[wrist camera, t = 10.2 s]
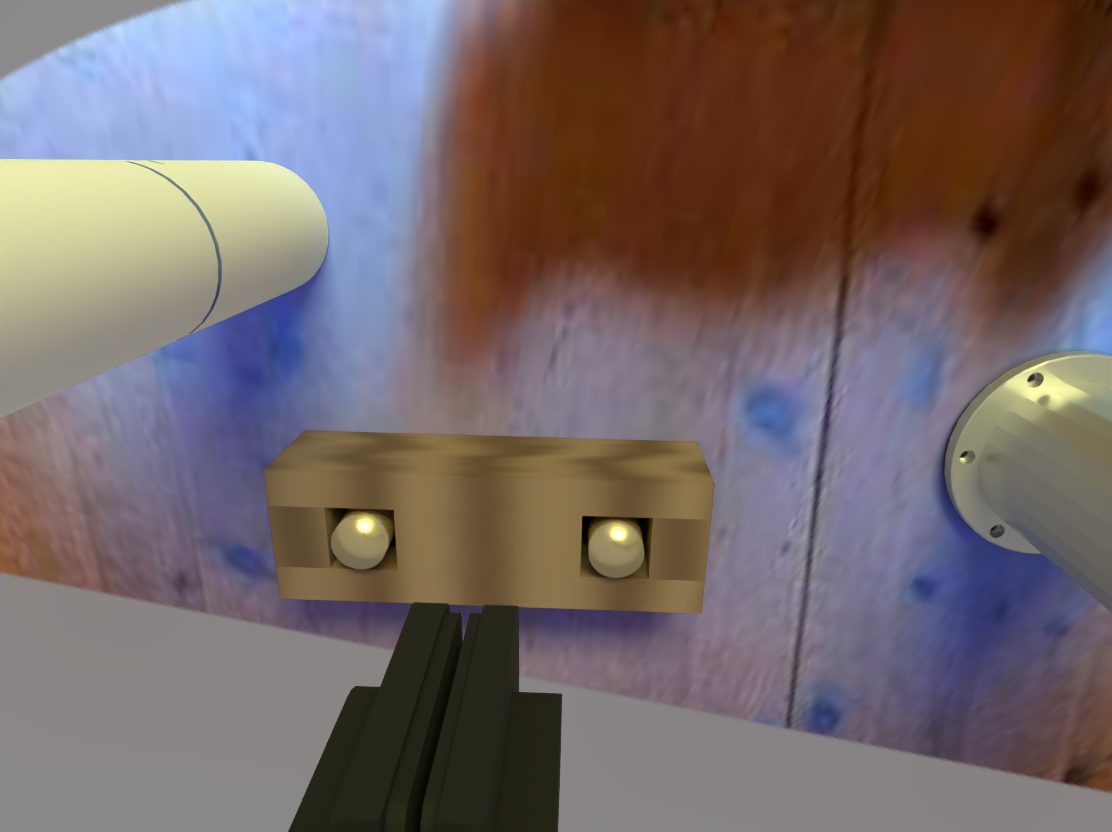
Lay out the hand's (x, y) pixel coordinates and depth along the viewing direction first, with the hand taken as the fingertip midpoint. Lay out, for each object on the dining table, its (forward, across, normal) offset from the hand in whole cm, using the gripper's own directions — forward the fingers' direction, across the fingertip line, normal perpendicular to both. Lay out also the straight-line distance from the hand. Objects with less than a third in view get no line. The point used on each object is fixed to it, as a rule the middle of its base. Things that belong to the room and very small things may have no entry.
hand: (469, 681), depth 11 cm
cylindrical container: (+31, +16, -4) cm, 35 cm away
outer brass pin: (+30, +10, +12) cm, 34 cm away
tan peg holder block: (+31, +3, +12) cm, 33 cm away
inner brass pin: (+30, -4, +12) cm, 33 cm away
